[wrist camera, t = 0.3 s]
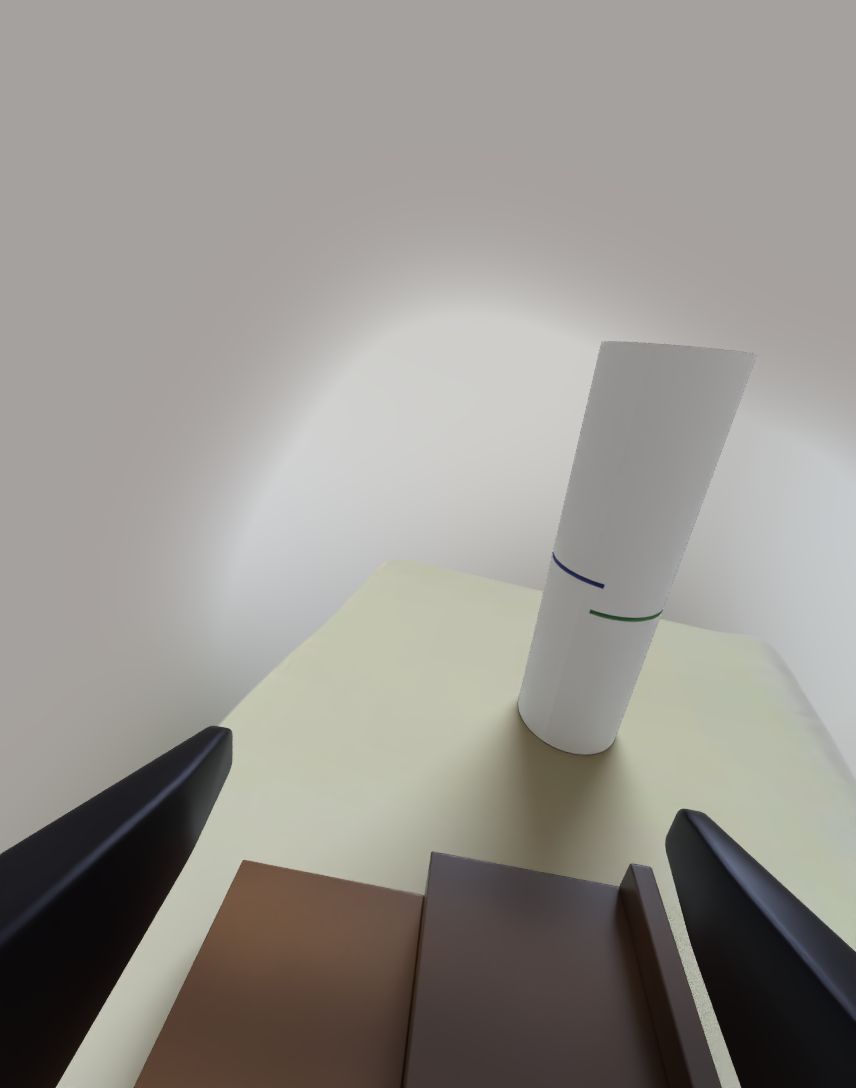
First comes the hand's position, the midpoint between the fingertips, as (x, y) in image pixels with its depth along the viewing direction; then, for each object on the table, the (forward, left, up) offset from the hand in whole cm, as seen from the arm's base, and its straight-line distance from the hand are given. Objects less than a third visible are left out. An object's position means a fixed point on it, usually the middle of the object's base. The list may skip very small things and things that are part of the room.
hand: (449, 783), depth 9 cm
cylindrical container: (+20, -9, -16) cm, 27 cm away
